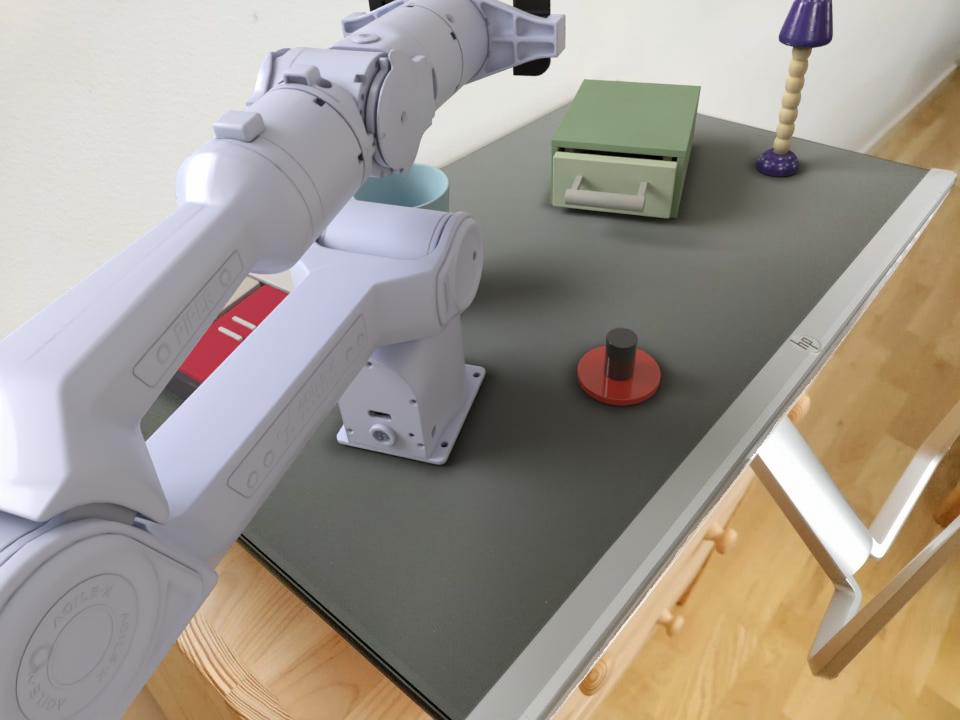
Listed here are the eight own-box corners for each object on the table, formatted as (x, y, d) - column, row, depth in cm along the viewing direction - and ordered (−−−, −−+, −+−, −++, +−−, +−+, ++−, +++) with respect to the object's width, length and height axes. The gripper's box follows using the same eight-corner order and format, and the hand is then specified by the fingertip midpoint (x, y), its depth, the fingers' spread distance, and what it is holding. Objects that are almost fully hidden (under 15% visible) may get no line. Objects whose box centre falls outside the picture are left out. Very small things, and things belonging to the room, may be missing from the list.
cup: (389, 264, 65) (371, 158, 58) (469, 273, 63) (461, 165, 56) (357, 315, 59) (333, 205, 52) (444, 326, 58) (432, 214, 51)
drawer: (663, 243, 63) (670, 191, 60) (541, 229, 66) (541, 178, 63) (684, 151, 76) (691, 103, 73) (582, 142, 79) (584, 96, 76)
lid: (654, 412, 49) (660, 372, 47) (569, 397, 51) (570, 358, 48) (664, 357, 53) (670, 317, 51) (586, 344, 55) (588, 305, 52)
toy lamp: (742, 167, 75) (777, -5, 64) (766, 151, 77) (804, -17, 66) (784, 181, 72) (828, 4, 61) (808, 165, 74) (855, -8, 63)
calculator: (110, 334, 53) (258, 232, 62) (135, 374, 56) (272, 272, 65) (204, 387, 48) (351, 269, 57) (225, 428, 51) (362, 310, 60)
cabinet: (676, 218, 68) (686, 150, 63) (550, 204, 71) (551, 139, 67) (691, 147, 79) (701, 85, 74) (581, 138, 82) (584, 78, 77)
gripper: (536, -19, 36) (593, -64, 46) (294, -18, 41) (393, -59, 51) (538, 117, 41) (590, 50, 51) (319, 105, 45) (406, 45, 55)
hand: (492, 2), depth 51 cm, fingers open, 7 cm apart
